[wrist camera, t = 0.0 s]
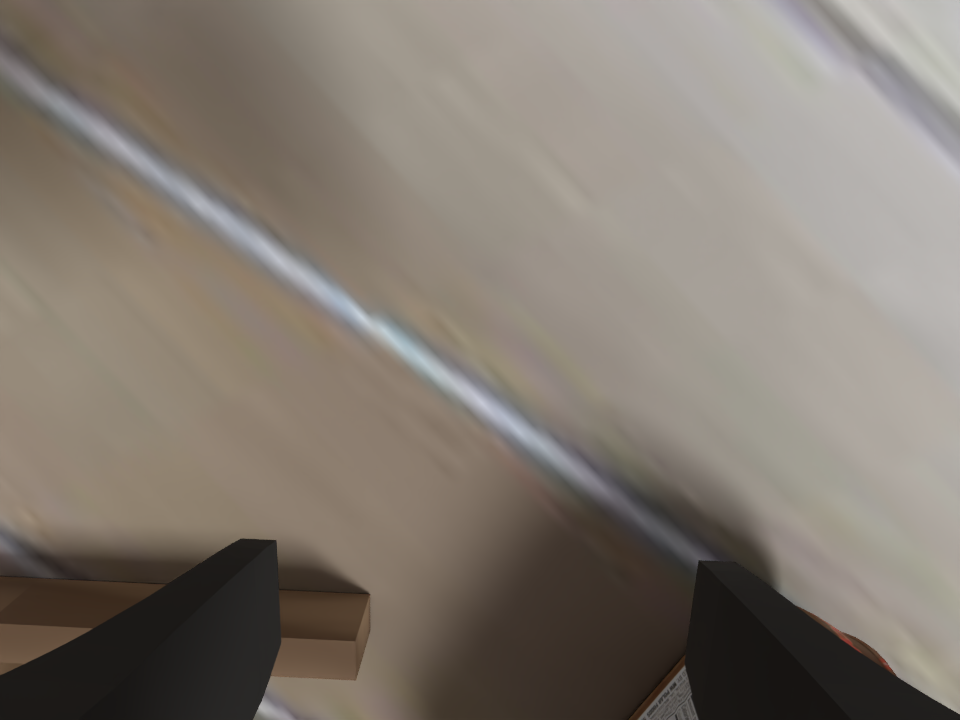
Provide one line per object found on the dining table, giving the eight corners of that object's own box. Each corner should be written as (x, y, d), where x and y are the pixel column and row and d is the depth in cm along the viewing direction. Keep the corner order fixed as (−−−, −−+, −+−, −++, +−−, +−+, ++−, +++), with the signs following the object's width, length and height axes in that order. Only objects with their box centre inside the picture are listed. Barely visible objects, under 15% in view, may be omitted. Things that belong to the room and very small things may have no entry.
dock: (371, 793, 26) (358, 856, 23) (33, 775, 26) (-15, 835, 24) (369, 594, 23) (355, 641, 21) (-2, 576, 24) (-59, 620, 21)
